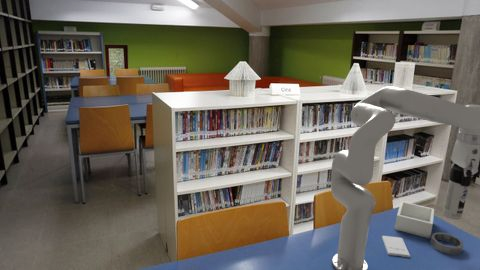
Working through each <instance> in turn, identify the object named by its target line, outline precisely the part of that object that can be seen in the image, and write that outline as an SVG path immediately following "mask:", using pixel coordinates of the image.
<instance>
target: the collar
mask: <svg viewBox="0 0 480 270" xmlns="http://www.w3.org/2000/svg"><path fill="white" fill-rule="evenodd" d="M439 241H445V242H448V243H450V244H453V245H455V246H450V245H446V244H444V243H442V242H439ZM430 246H432V248H433V249H435V250H436V251H438V252H440V253H443V254H447V255H451V256H452V255H453V256H454V255H456V256H458V255H460V254H462V253H463V248H464V242H463V241H462V240H461V239H460V238H459V237H457V236H454V235H453V234H451V233H446V232H435V233H431V236H430Z"/></svg>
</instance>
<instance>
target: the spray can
mask: <svg viewBox="0 0 480 270" xmlns="http://www.w3.org/2000/svg"><path fill="white" fill-rule="evenodd" d="M450 172H451V174H450V173H449V176H450V177H449V180H448V185H447V190H446V195H445V199H444V204H443V209H442V214H443V216H444V217H446V218H448V219H452V220H461V218H462V217H463V213H464V208H465V204H466V200H467V197H468V196H467V194H468V191H469V187H470V186H461V180H462V176H464V168H462V167H460V166H454V167H452V170H451V169H450ZM468 172H469V170H467V173H468Z"/></svg>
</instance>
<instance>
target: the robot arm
mask: <svg viewBox="0 0 480 270" xmlns="http://www.w3.org/2000/svg"><path fill="white" fill-rule="evenodd" d="M394 113H395V114H398V115H402V116H407V117H412V118H415V119H420V120H424V121H429V122H433V123H437V124H443V125H448V126H453V127H456V128H458V131H457V137H456V141H455V144H454V145H453V150H452V153H451V155H450V156H449V160H450V172H449V176H448V177H449V178H450V174H451V170H452V167H454V166H460V167H462V168H464V176H462V180H461V186H469V187H470V185H471V181H472V178H473V177H474V176H475V175H476V174H477V173H478V172H479V165H480V104H460V103H456V102H453V101H450V100H447V99H443V98H441V97H438V96H434V95H429V94H427V93H422V92H418V91H415V90H411V89H407V88H401V87H397V86H394V85H393V86H392V85H390V86H385V87H382V88H380V89H379V90H378V89H377V90H376V91H375V92H374V93H371V94H370V95H368V96H367V97H365V98H363V99H362V100H360V101H359V102H357V103H356V104H355V105H354V106H353V108H352V109H351V111H350V120H351V122H352V123H353V124H354V125H356V126H357V127H359V128H358V129H357V130H356V131H355V132H354V133H353V134H352V136H351V137H350V140H349V142H348V149H343V150H340V151H338V152H337V153H336V155H335V156H334V157H333V160H332V163H331V174H330V175H331V176H330V190H331V195H332V197H333V198H334V199H335V200H336V201H337V202H338V203H340V204H342V206H343V207H345V209H346V212H345V213H344V214H343V216H342V217H341V221H340V229H339V237H338V245H337V253H336V254H335V255H334V256H333V257H332V260H331V261H332V262H331V263H332V266H333V267H334V268H335V270H368V263H367V262H366V260H365V255H366V248H367V243H368V234H369V229H370V222H371V217H372V216H373V212H374V209H375V207H376V199H375V196H374V195H373V193H372V192H371V191H370V190H369V189H367V188H366V186H367V185H369V184H370V182H371V181H372V180H373V176H374V167H375V166H374V164H375V153H376V147H377V145H378V143H379V141H380V140H382V138H383V137H384V136H385V135H388V133H390V132H391V130H392V129H394V126H395V123H396V117H395V114H394ZM467 170H469V172H468V173H467ZM364 186H365V187H364Z"/></svg>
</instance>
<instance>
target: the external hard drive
mask: <svg viewBox="0 0 480 270" xmlns="http://www.w3.org/2000/svg"><path fill="white" fill-rule="evenodd" d="M381 239H382V241H383V244H384V248H385V250H386V253H387V255H388V256H393V257H394V256H396V257H397V256H399V257H403V258H411V254H410V252H409V250H408V247H407V246H406V243H405V240H404V239H403V237H399V236H389V235H382V236H381Z"/></svg>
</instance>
